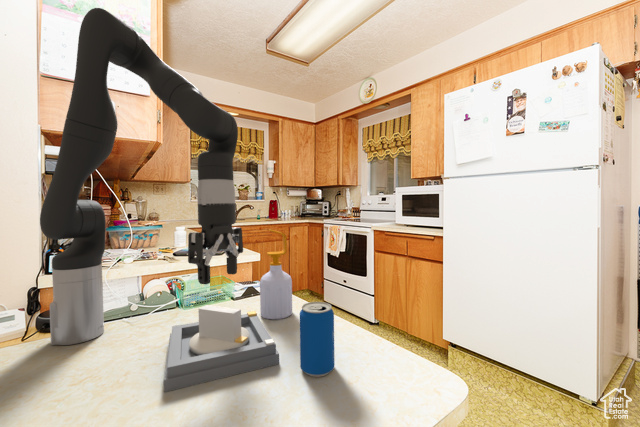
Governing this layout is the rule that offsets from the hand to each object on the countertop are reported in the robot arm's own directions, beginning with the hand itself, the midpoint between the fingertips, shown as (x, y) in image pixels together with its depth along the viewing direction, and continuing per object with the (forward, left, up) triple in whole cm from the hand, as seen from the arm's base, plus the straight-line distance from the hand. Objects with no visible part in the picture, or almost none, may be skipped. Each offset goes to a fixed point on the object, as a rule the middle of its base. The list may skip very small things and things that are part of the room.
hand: (219, 278), depth 62 cm
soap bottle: (+17, +16, -16) cm, 28 cm away
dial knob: (0, 0, -14) cm, 14 cm away
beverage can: (+16, -15, -16) cm, 27 cm away
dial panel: (0, 0, -16) cm, 16 cm away
